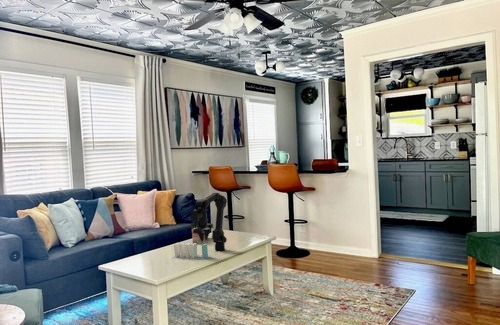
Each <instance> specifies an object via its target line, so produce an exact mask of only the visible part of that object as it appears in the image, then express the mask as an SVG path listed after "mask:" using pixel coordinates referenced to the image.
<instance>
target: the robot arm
mask: <svg viewBox="0 0 500 325" xmlns="http://www.w3.org/2000/svg"><path fill="white" fill-rule="evenodd" d="M213 202H214V205H215V207H216V217H215V228H214V224H213V223H208V221H209V218H208V216H207V215H208V214H207V211H209V209H208V206H209V205H210V204H211V203H213ZM227 203H228V199H227V198H226V197H225V196H224V195H223V194H220V193H218V192H212V193H211V194H210V195H208V196H206V197H205V198H201V199H197V200H196V202H195V205H194V208H193V210H192V212H191V214H190V215H189V216H190V220H191V221H193V222H191V223H190V228H191V230H192V229H193V233H197V234H198V235H199V237H200V239H201V242H202V243H203V242H204V241H207V240H208V239H209V236H210V232H211V231H212V234H211V239H212V242H213V243H214V250H215V252H225V251H226V246H225V245H226V244H225V243H227V241H228V240H227V237H226V236H225V232H224V230H223V225H224V211H225V208H226V207H227ZM195 221H196V222H195ZM194 228H195V229H194ZM213 228H214V230H212V229H213ZM204 235H205V240H204ZM203 240H204V241H203Z"/></svg>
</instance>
